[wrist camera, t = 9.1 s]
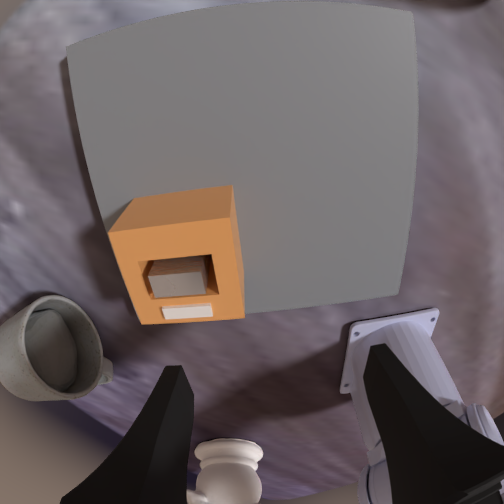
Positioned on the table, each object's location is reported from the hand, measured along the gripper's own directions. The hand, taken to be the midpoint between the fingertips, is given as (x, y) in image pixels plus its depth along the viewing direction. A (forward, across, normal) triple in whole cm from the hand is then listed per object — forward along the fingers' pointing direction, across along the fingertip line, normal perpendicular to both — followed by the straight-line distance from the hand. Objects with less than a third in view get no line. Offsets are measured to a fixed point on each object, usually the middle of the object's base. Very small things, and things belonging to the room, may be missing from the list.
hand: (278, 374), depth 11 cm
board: (+9, 0, -5) cm, 11 cm away
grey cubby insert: (+8, +4, -2) cm, 9 cm away
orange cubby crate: (+8, +4, -2) cm, 9 cm away
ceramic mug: (+10, +17, +6) cm, 21 cm away
